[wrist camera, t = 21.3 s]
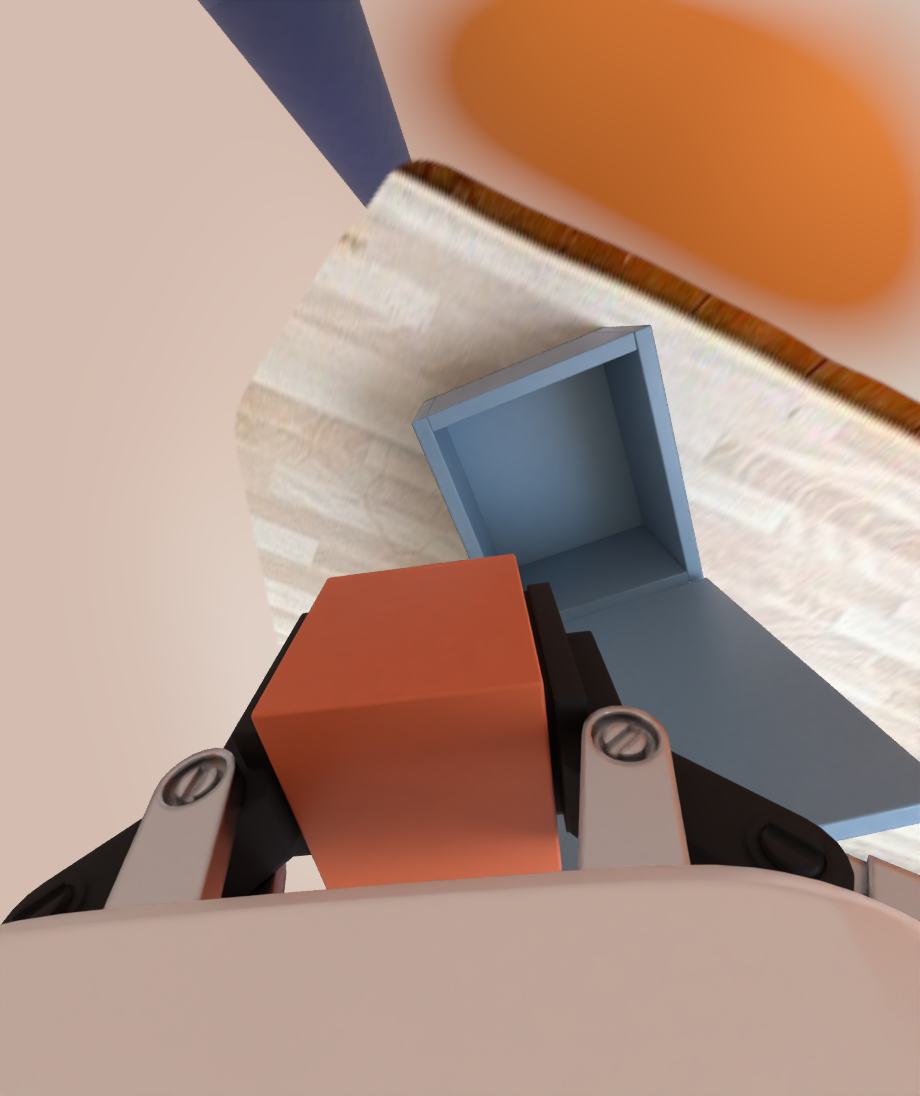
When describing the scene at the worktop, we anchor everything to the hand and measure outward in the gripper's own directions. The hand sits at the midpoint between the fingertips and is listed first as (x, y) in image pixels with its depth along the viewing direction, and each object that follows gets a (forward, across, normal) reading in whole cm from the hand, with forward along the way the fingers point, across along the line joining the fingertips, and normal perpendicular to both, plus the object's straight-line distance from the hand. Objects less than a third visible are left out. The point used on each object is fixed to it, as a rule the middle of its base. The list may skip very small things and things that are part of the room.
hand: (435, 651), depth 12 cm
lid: (+6, -7, +7) cm, 12 cm away
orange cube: (0, 0, 0) cm, 0 cm away
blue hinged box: (+21, -6, +2) cm, 22 cm away
